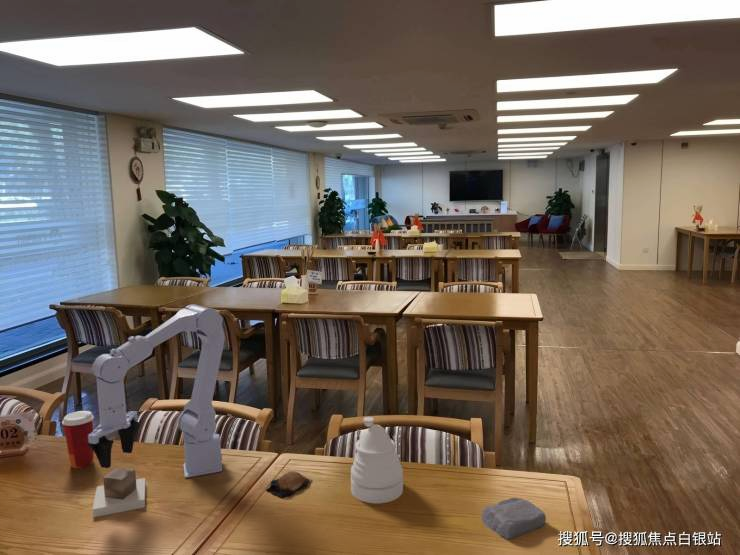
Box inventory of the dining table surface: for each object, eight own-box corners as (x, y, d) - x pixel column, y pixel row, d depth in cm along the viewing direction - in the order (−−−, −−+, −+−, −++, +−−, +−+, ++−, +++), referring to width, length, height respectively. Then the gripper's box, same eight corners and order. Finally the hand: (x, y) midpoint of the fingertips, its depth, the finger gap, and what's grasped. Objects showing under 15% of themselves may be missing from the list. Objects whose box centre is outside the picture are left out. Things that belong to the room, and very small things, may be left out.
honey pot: (342, 497, 134) (340, 426, 132) (363, 473, 146) (361, 407, 143) (392, 507, 129) (391, 434, 127) (409, 481, 141) (409, 413, 139)
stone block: (477, 528, 124) (508, 543, 115) (475, 506, 124) (506, 519, 116) (517, 514, 130) (550, 528, 121) (515, 493, 130) (547, 505, 121)
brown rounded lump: (291, 475, 147) (290, 461, 146) (315, 483, 142) (315, 470, 141) (261, 492, 138) (261, 478, 138) (286, 502, 133) (285, 488, 133)
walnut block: (136, 488, 136) (135, 469, 135) (123, 499, 131) (121, 479, 130) (118, 486, 137) (117, 467, 136) (104, 497, 132) (103, 477, 131)
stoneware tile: (145, 485, 141) (145, 477, 141) (144, 507, 131) (144, 499, 131) (97, 494, 137) (96, 486, 137) (93, 517, 127) (92, 509, 127)
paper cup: (103, 457, 157) (99, 410, 155) (87, 470, 149) (82, 421, 147) (77, 456, 158) (72, 409, 156) (59, 469, 150) (54, 420, 148)
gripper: (105, 418, 123) (110, 475, 125) (146, 395, 137) (150, 447, 139) (78, 415, 125) (83, 472, 127) (121, 393, 139) (126, 445, 141)
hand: (116, 459), depth 133 cm, fingers open, 7 cm apart
